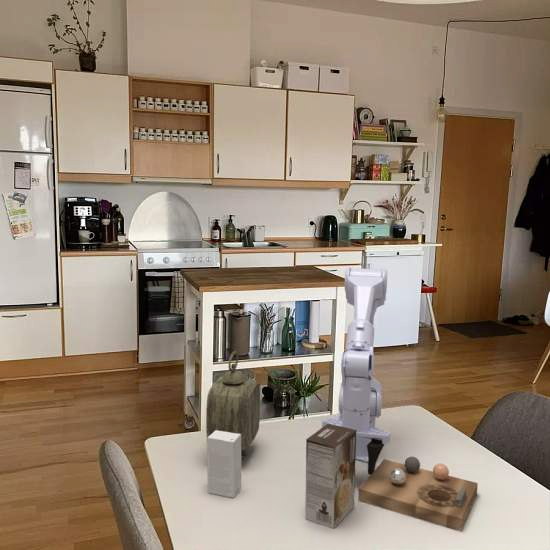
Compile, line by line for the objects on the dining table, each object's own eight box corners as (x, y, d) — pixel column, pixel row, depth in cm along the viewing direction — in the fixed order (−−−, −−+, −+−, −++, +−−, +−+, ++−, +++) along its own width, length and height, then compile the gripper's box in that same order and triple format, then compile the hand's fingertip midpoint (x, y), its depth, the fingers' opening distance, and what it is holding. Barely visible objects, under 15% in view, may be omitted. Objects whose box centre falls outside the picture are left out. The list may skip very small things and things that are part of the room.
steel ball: (387, 485, 114) (387, 470, 113) (392, 478, 117) (393, 463, 116) (402, 489, 112) (403, 474, 112) (407, 482, 115) (408, 467, 114)
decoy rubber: (402, 472, 119) (402, 458, 119) (406, 466, 122) (407, 452, 121) (417, 476, 117) (417, 462, 117) (421, 470, 120) (422, 456, 120)
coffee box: (325, 497, 114) (327, 421, 111) (355, 506, 110) (357, 429, 108) (303, 519, 106) (305, 438, 104) (334, 530, 103) (336, 446, 100)
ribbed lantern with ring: (225, 441, 139) (225, 342, 135) (260, 444, 137) (261, 345, 134) (206, 468, 125) (205, 359, 121) (245, 472, 123) (246, 362, 120)
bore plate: (358, 500, 113) (359, 481, 112) (383, 469, 125) (384, 452, 125) (460, 531, 103) (462, 511, 102) (476, 494, 115) (478, 476, 115)
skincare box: (242, 488, 117) (242, 433, 115) (233, 498, 113) (234, 442, 111) (215, 483, 119) (215, 429, 117) (206, 493, 115) (206, 437, 113)
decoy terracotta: (430, 480, 116) (431, 465, 116) (434, 473, 119) (435, 459, 118) (446, 484, 114) (447, 469, 114) (450, 477, 117) (450, 463, 117)
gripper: (316, 405, 117) (315, 466, 119) (383, 420, 110) (380, 485, 112) (330, 395, 123) (329, 453, 125) (394, 408, 116) (391, 470, 118)
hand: (354, 467), depth 119 cm, fingers open, 7 cm apart
